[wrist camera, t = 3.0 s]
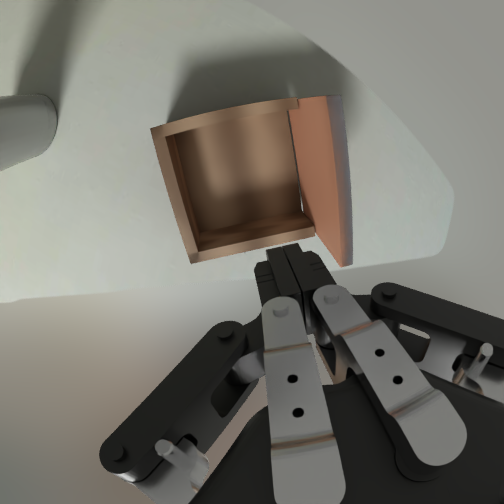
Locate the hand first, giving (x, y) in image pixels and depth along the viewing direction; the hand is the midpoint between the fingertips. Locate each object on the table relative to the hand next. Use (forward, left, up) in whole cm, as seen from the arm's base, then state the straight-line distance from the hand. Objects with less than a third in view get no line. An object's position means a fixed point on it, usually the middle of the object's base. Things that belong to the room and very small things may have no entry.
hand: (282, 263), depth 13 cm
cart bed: (-1, 0, -24) cm, 24 cm away
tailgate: (+6, 0, -21) cm, 21 cm away
